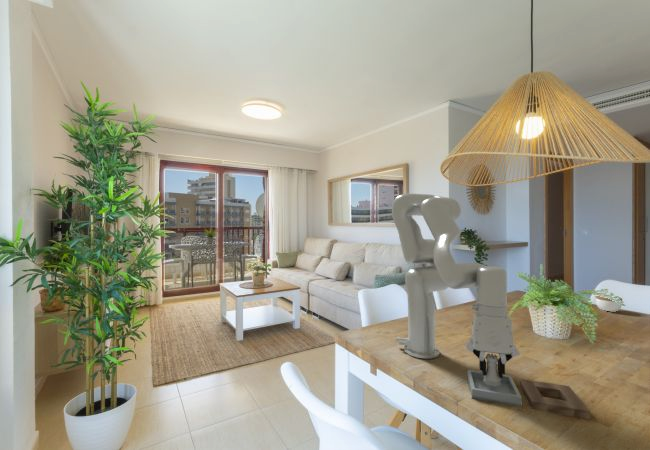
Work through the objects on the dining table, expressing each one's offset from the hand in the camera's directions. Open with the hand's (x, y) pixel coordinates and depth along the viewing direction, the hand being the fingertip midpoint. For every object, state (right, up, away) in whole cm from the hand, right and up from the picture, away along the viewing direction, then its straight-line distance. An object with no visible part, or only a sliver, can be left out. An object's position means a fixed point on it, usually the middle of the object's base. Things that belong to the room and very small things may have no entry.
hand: (491, 373), depth 85 cm
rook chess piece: (0, -3, 0) cm, 3 cm away
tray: (0, -5, 0) cm, 5 cm away
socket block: (+13, -5, -5) cm, 15 cm away
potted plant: (+107, -5, +78) cm, 133 cm away
